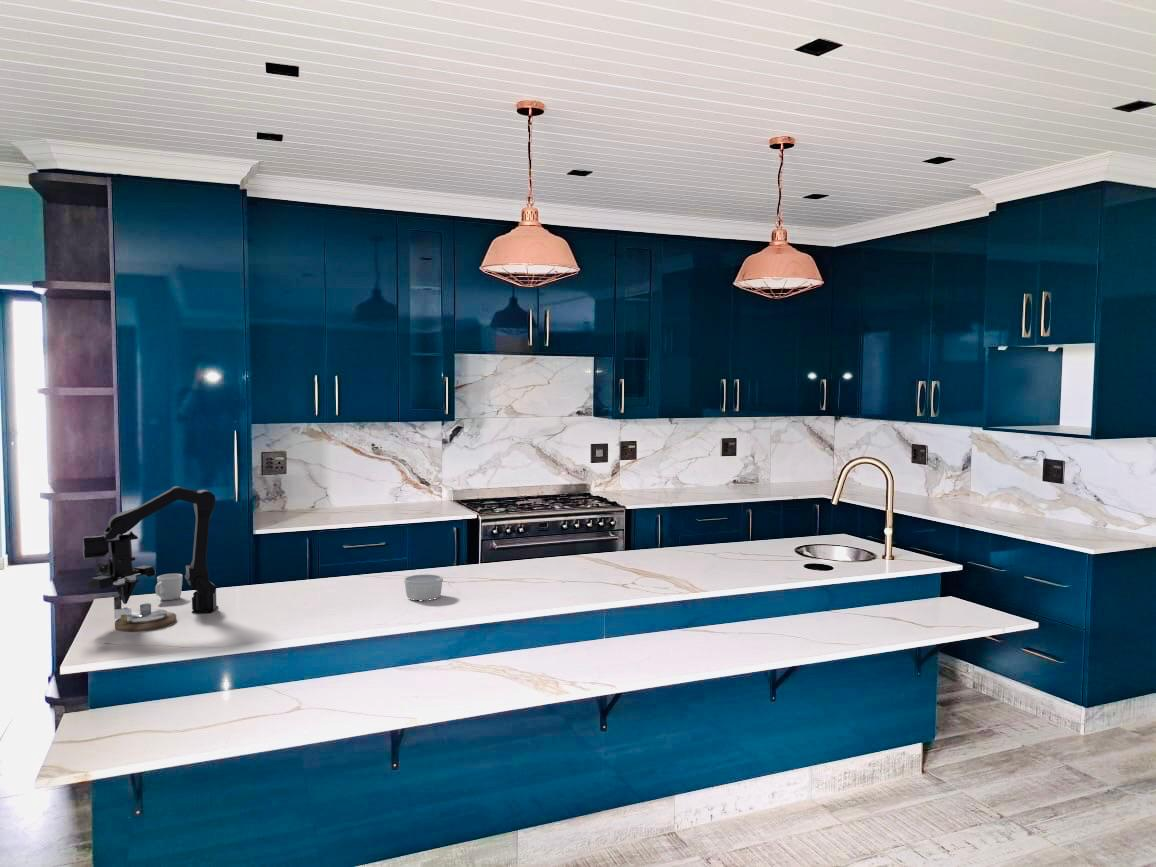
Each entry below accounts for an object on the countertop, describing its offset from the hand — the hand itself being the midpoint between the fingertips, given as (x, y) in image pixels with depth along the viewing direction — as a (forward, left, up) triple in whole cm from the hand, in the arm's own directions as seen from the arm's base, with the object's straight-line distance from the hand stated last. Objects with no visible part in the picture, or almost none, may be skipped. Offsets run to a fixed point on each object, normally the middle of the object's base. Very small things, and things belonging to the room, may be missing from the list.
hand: (125, 603), depth 263 cm
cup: (-2, -27, -6) cm, 28 cm away
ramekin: (-90, -21, -6) cm, 93 cm away
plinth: (-7, +3, -6) cm, 10 cm away
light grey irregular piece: (-6, +3, -4) cm, 7 cm away
